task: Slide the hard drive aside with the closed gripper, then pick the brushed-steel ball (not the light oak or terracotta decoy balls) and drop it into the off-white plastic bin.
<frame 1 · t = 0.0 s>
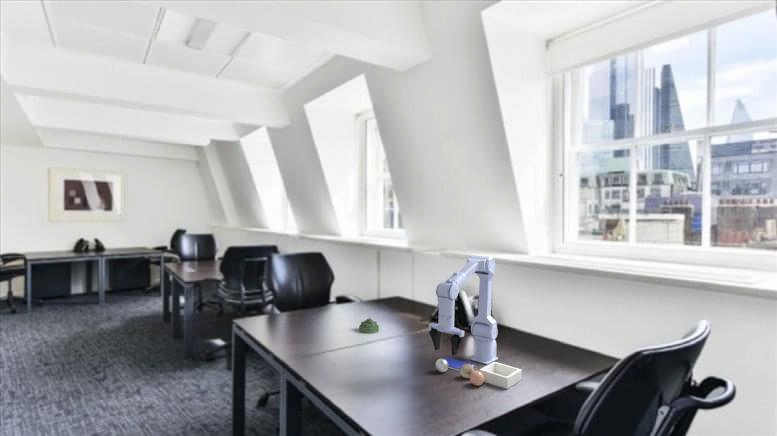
hand: (445, 352, 152), 10 cm above the table, tool pointing down, fingers open, 7 cm apart
light oak ball: (466, 377, 154), on the table
hard drive: (455, 367, 167), on the table
steel ball: (441, 371, 160), on the table
terracotta ball: (476, 385, 148), on the table
decorative artifact: (369, 331, 212), on the table
off-white bin: (500, 380, 153), on the table
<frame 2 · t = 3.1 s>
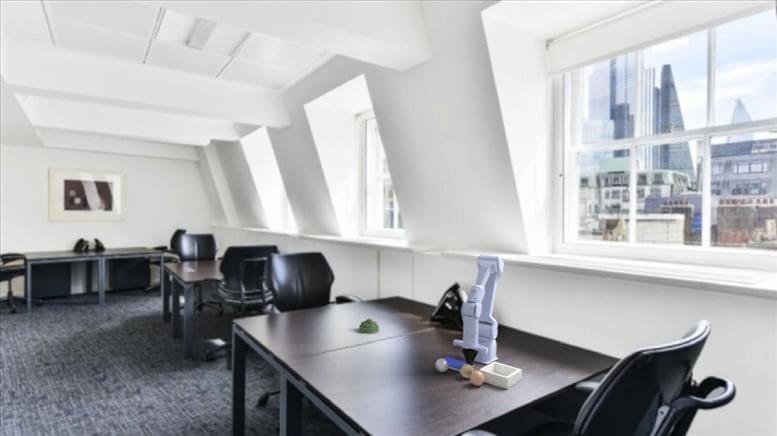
hand: (469, 367, 162), 1 cm above the table, tool pointing down, fingers closed
hard drive: (455, 366, 167), on the table, touching gripper
everything else where it was.
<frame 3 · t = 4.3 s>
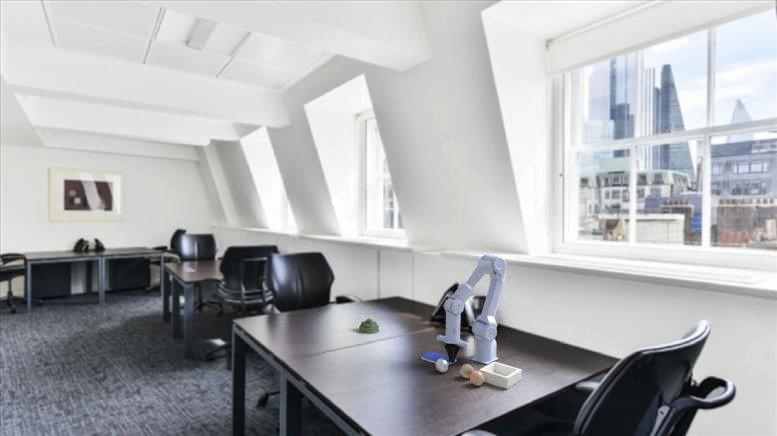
hand: (452, 361, 168), 1 cm above the table, tool pointing down, fingers closed
hard drive: (438, 361, 173), on the table, touching gripper
everything else where it was.
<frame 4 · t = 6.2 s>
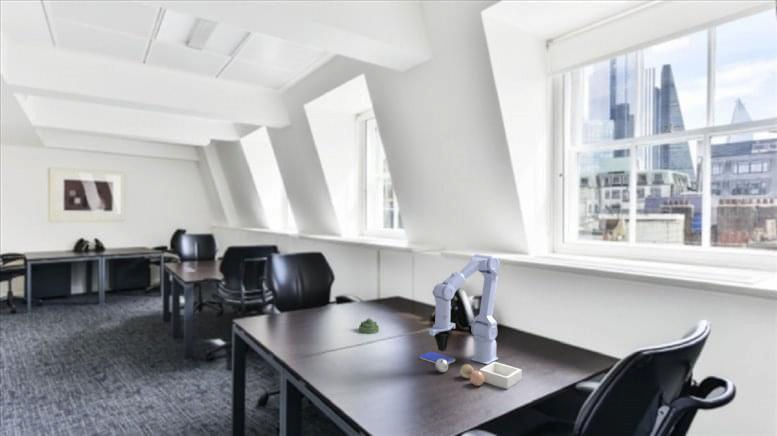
hand: (442, 350, 160), 8 cm above the table, tool pointing down, fingers closed
hard drive: (437, 361, 173), on the table
everything else where it was.
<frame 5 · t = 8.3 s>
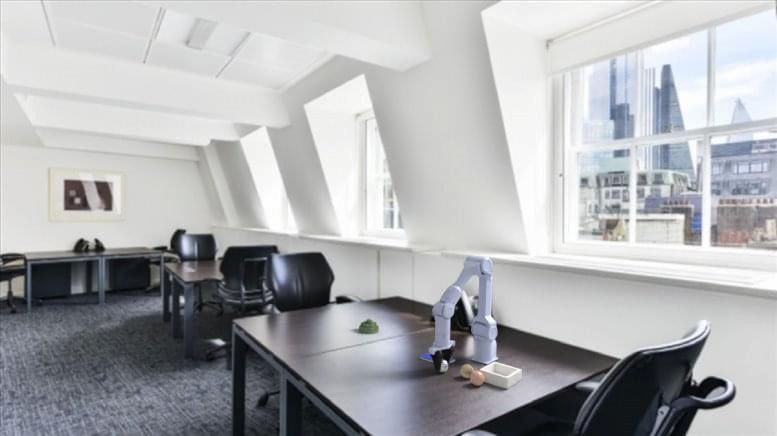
hand: (441, 368, 160), 1 cm above the table, tool pointing down, fingers closed on steel ball, 5 cm apart
steel ball: (441, 371, 160), on the table, touching gripper
everything else where it was.
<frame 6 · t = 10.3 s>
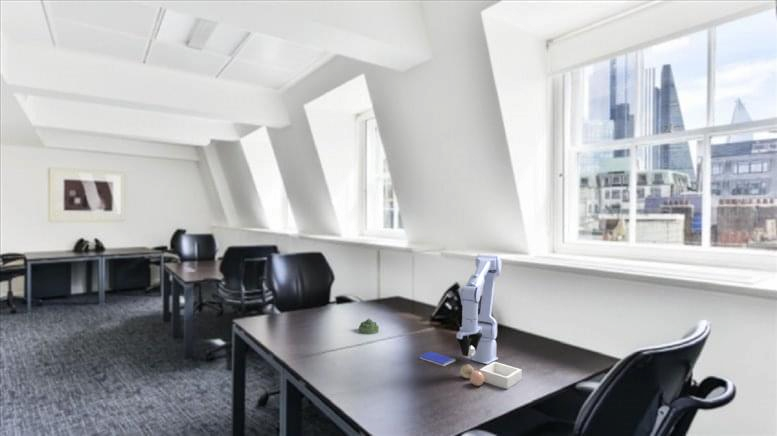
hand: (469, 353, 156), 8 cm above the table, tool pointing down, fingers closed on steel ball, 5 cm apart
steel ball: (468, 357, 156), point 7 cm above the table, touching gripper
when the fingers open (5 cm above the table, at t = 12.2 s): steel ball drops 2 cm, resting on off-white bin.
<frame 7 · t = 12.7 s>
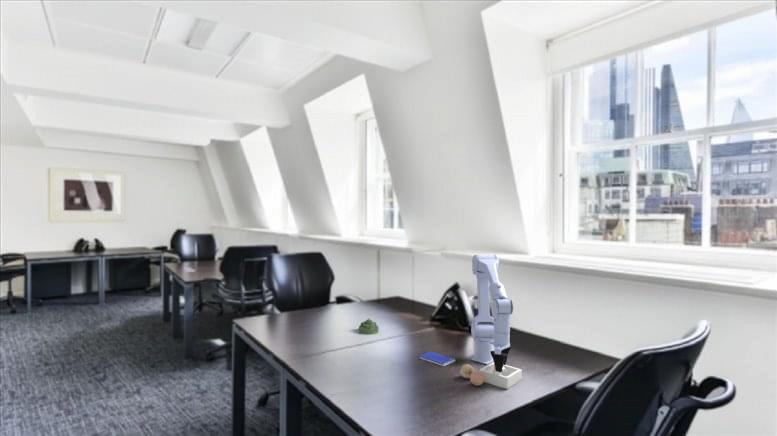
hand: (500, 367, 153), 5 cm above the table, tool pointing down, fingers open, 7 cm apart
steel ball: (499, 378, 153), point 1 cm above the table, touching off-white bin
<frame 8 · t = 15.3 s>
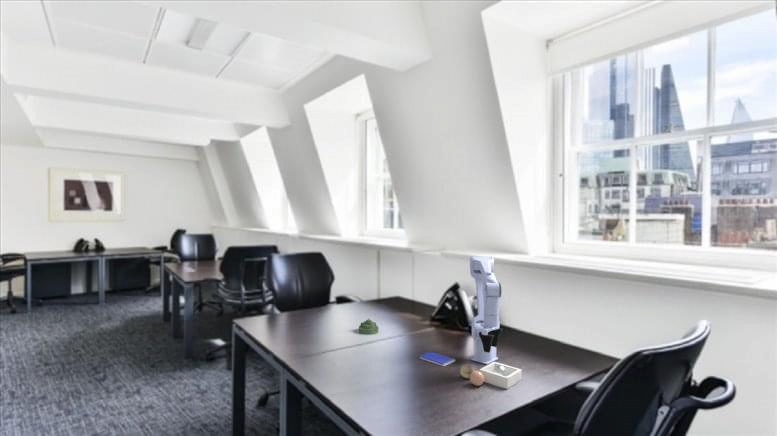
hand: (490, 349, 159), 9 cm above the table, tool pointing down, fingers open, 7 cm apart
at the end: steel ball inside the target area on the off-white bin (0.4 cm from its centre), point 0.5 cm above the off-white bin's base; hard drive moved 9.0 cm from its start; light oak ball moved 0.0 cm from its start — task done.
